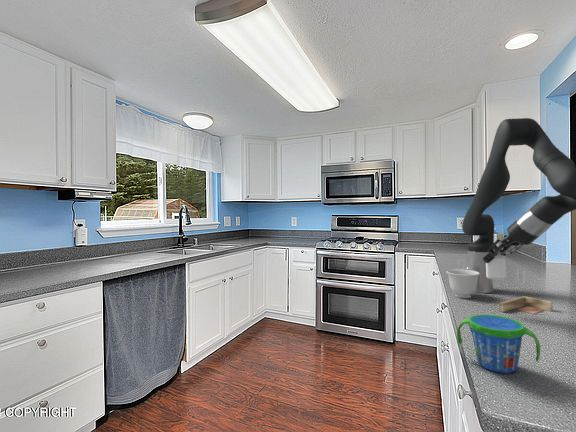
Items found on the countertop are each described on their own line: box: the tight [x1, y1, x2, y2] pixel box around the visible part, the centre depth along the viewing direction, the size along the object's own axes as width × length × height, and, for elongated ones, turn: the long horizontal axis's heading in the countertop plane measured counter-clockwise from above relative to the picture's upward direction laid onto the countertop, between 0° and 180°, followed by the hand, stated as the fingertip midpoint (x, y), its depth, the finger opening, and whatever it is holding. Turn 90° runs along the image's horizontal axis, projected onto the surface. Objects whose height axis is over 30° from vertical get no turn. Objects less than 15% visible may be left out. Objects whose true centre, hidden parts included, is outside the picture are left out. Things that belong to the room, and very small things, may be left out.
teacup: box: [445, 268, 480, 299], centre depth 125 cm, size 12×15×10 cm
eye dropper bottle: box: [486, 250, 508, 280], centre depth 103 cm, size 4×6×12 cm
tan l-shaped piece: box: [498, 295, 554, 315], centre depth 104 cm, size 9×16×3 cm, turn 117°
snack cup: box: [456, 314, 541, 374], centre depth 69 cm, size 16×10×10 cm
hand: (490, 260), depth 104 cm, fingers closed on eye dropper bottle, 5 cm apart
